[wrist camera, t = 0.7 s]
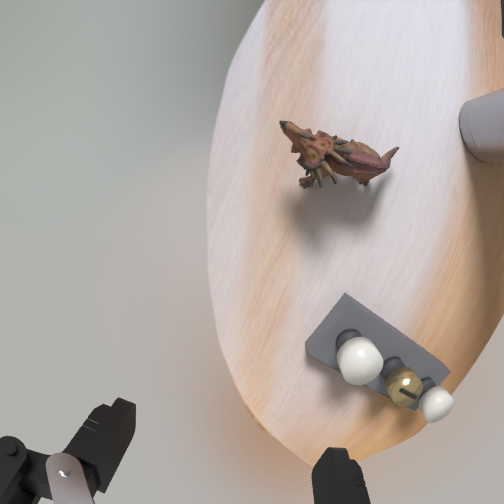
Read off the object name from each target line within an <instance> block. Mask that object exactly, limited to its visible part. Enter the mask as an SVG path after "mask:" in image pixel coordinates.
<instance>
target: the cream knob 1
mask: <svg viewBox="0 0 504 504" xmlns="http://www.w3.org/2000/svg"><path fill="white" fill-rule="evenodd" d="M337 362H338V365H339V368H340V370H341V373H342V375H343V378H344V379H345V381H346V382H347V383H349V384H352V385H363V384H366V383H369V382H371V381H372V380H374V379H375V378H376V377H377V376H378V375H379V373H380V372H381V370H382V368H383V358H382V356H381V354H380V353H379V351H378V350H377V348H376V347H375V345H374V344H373V342H372V341H371V340H370V339H368V338H365V337H355V338H352V339H350V340H348V341H346V342H345V343H344V344H343V345H342V346H341V347H340V349H339V351H338V353H337Z"/></svg>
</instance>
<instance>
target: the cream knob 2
mask: <svg viewBox="0 0 504 504" xmlns="http://www.w3.org/2000/svg"><path fill="white" fill-rule="evenodd" d="M453 405H454V400H453V398H452V397H451V396H450V395H449V393H448V392H447V391H446V390H445V388H444V387H443V386H436V387H433V388H431V389H430V390H428V391H427V392H426V393H425V394H424V395H423V396H422V397H421V399H420V401H419V409H420V410H421V412H422V413H423V415H424V417H425V418H426V420H427V421H428V422H431V423H433V422H437V421H439V420H441V419H442V418H444V417H445V416H446V415H447V414H448V413H449V412H450V411H451V409H452V407H453Z"/></svg>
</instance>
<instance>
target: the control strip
mask: <svg viewBox="0 0 504 504" xmlns="http://www.w3.org/2000/svg"><path fill="white" fill-rule="evenodd" d="M355 337H365V338H368V339H370V340H371V341H372V342H373V344H374V345H375V347H376V348H377V350H378V351H379V353H380V354H381V356H382V358H383V368H382V370H381V372H380V373H379V375H378V376H377V377H376V378H375V379H374V380H372V381H371V382H369V383H366V384H363V385H365V386H367V387H369V388H371V389H373V390H375V391H377V392H379V393H381V394H383V395H385V396H387V397H389V398H391V397H390V395H389V394H388V392H387V390H386V388H385V382H386V380H387V378H388V376H389V375H390V374H391V373H392V372H393V371H395V370H396V369H398V368H401V367H410V368H411V369H412V370H413V371H414V372H415V374H416V375H417V376H418V378H419V379H420V380H421V382H422V383H423V390H422V393H421V394H420V396H419V397H418V398H417V399H416V400H415V401H414V402H412V403H411V404H409V405H406V406H407V407H409V408H411V409H413V410H416V409H417V408H418V407H419V401H420V399H421V397H422V396H423V395H424V394H425V393H426V392H427V391H428V390H430V389H431V388H433V387H436V386H439V385H440V384H441V383H442V381H443V380H444V379H445V378H446V377H447V376H448V374H449V373H450V372H451V371H450V370H449V369H448V368H447V367H446V366H445V365H444V364H443V363H442V362H441V361H440V360H438V359H437V358H436V357H434V356H433V355H432V354H430V353H429V352H427V351H426V350H425V349H423V348H422V347H421V346H419V345H418V344H416V343H415V342H414V341H412V340H411V339H410V338H408V337H407V336H405V335H404V334H403V333H401V332H400V331H398V330H397V329H396V328H394V327H393V326H391V325H390V324H389V323H387V322H386V321H384V320H383V319H382V318H380V317H379V316H377V315H376V314H375V313H373V312H372V311H370V310H369V309H367V308H366V307H365V306H363V305H362V304H360V303H359V302H358V301H356V300H355V299H353V298H352V297H350V296H349V295H348V294H346V293H344V295H343V296H342V297H341V298H340V300H339V301H338V302H337V304H336V305H335V306H334V307H333V309H332V310H331V311H330V313H329V314H328V315H327V316H326V318H325V319H324V320H323V321H322V323H321V324H320V325H319V326H318V327H317V329H316V330H315V331H314V332H313V334H312V335H311V336H310V337H309V338H308V340H307V341H306V342H305V343H306V347H307V351H308V355H310V356H312V357H314V358H316V359H317V360H319V361H321V362H323V363H324V364H326V365H328V366H330V367H332V368H333V369H335V370H337V371H339V372H341V370H340V368H339V365H338V362H337V353H338V351H339V349H340V347H341V346H342V345H343V344H344V343H345V342H346V341H348V340H350V339H352V338H355Z"/></svg>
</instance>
